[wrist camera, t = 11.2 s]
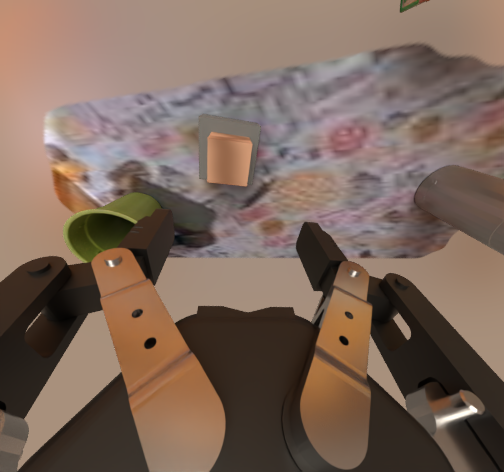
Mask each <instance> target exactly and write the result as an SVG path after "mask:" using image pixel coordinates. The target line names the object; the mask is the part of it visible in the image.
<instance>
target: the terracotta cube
mask: <svg viewBox="0 0 504 472" xmlns="http://www.w3.org/2000/svg"><path fill="white" fill-rule="evenodd" d="M251 152H252V142H251V140H250V138H249V137H244V136H237V135H230V134H224V133H217V132H211V133H210V135H209V136H208V147H207V182H210V183H219V184H228V185H238V186H247V182H248V174H249V167H250V159H251Z"/></svg>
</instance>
